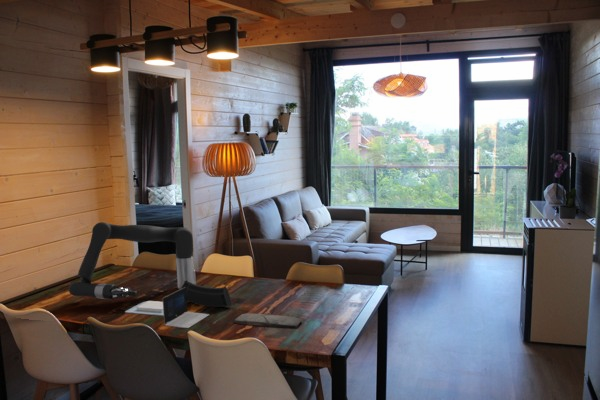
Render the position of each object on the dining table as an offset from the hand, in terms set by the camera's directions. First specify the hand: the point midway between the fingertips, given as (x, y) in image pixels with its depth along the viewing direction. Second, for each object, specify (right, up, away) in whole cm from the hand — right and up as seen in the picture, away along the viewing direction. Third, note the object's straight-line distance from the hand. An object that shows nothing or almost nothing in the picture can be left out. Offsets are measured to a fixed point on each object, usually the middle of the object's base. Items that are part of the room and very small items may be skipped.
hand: (136, 293), depth 260 cm
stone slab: (+67, -9, -25) cm, 72 cm away
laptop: (+29, -9, -19) cm, 36 cm away
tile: (+3, -6, 0) cm, 6 cm away
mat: (+9, -7, -2) cm, 11 cm away
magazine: (+34, -6, +2) cm, 34 cm away
